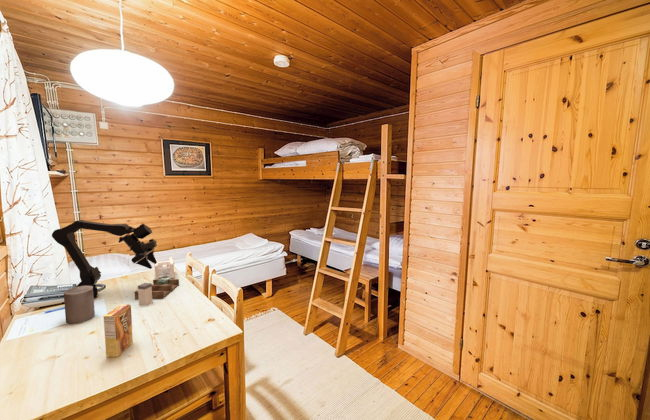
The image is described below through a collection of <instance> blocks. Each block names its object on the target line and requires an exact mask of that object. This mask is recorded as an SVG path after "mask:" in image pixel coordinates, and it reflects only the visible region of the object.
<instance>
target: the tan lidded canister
mask: <svg viewBox="0 0 650 420" xmlns="http://www.w3.org/2000/svg"><path fill="white" fill-rule="evenodd" d="M152 285H153V283H151V282H149V283H148V282H143V283H141V284H139V285H137V291H138V296H139V299H138V305H139V306H144V307H147V306H149V305H151V304H153V299H152Z"/></svg>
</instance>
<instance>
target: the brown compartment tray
mask: <svg viewBox="0 0 650 420" xmlns="http://www.w3.org/2000/svg"><path fill="white" fill-rule="evenodd" d="M177 286H178V287H179V286H180V279H178V278H177V279H176V278H173V279H172V278H169V279H167V278H166V279H164V278H159V279H156V280H155V279H153V280H152V300H164V299H165V298H166V297H167V296H168V295H169V293H170V292H171V293H172V292H174V290H175V288H176V287H177ZM178 287H177V288H178ZM177 288H176V289H177ZM171 293H170V294H171ZM164 297H165V298H164ZM134 300H137V301H139V296H138V290H136V291H134Z"/></svg>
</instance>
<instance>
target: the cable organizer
mask: <svg viewBox="0 0 650 420" xmlns="http://www.w3.org/2000/svg"><path fill="white" fill-rule="evenodd" d="M155 259H156V261H157V263H156V264H154V263H153V264H154V277H155V278H154V280H156V279H163V277H164V276H166V277H170V278H169V279H172V278H173V279H175V268H174V266H175V262H174V258H173V257H172V256H171V257H168V260H164V261H159V260H158V259H157V258H155Z"/></svg>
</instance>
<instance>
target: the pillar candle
mask: <svg viewBox="0 0 650 420" xmlns="http://www.w3.org/2000/svg"><path fill="white" fill-rule="evenodd" d="M63 299H64V314H65V323H66V324H67V325H78V324H82V323H85V322H88V321H90V320H92V319H93V318H94V317H95V315H96V314H95V313H96V312H95V300H94V299H95V298H94V296H93V286H79V287H76V286H75V287H72V288H71V287H70V288H68V289H66V290H65V291H63Z"/></svg>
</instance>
